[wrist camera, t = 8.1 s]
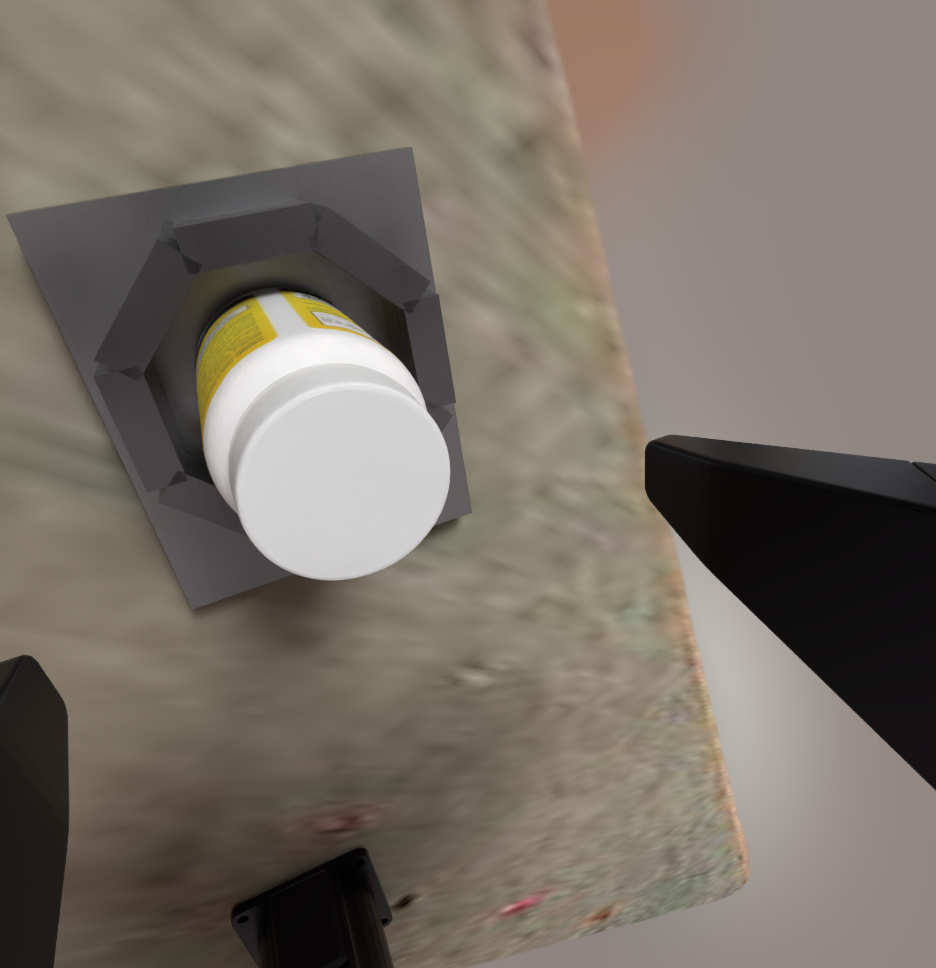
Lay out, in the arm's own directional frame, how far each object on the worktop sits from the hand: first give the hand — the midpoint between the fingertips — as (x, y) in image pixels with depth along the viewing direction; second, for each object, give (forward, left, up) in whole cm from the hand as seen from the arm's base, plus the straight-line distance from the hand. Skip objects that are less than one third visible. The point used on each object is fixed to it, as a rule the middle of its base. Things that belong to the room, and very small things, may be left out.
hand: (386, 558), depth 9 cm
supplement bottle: (0, 0, -11) cm, 11 cm away
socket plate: (-1, 0, -12) cm, 12 cm away
